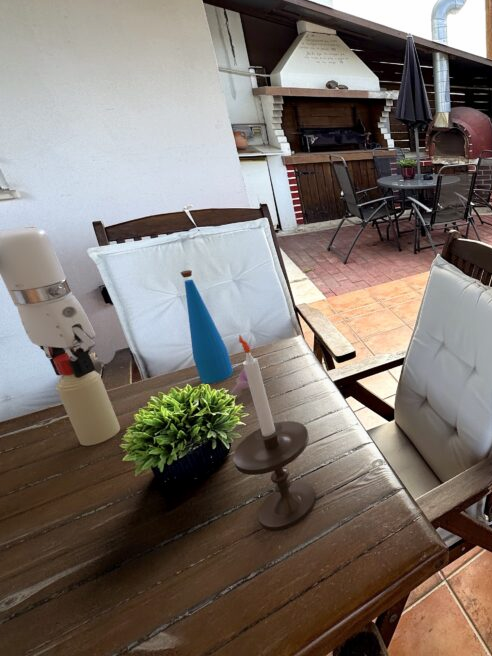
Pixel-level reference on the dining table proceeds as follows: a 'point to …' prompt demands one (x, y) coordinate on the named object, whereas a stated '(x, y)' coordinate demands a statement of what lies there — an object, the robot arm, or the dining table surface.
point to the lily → (241, 382)
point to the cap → (63, 364)
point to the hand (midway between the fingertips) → (76, 372)
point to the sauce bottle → (88, 407)
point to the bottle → (205, 338)
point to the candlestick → (274, 457)
